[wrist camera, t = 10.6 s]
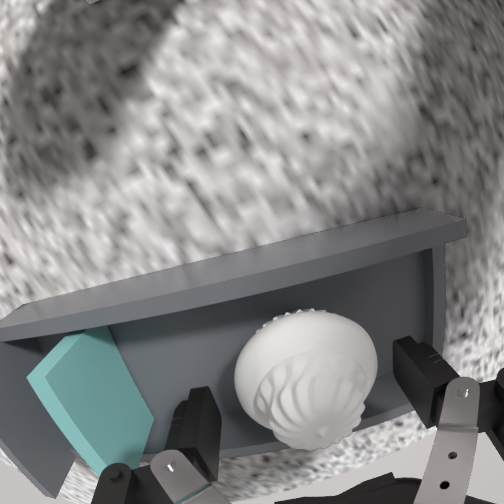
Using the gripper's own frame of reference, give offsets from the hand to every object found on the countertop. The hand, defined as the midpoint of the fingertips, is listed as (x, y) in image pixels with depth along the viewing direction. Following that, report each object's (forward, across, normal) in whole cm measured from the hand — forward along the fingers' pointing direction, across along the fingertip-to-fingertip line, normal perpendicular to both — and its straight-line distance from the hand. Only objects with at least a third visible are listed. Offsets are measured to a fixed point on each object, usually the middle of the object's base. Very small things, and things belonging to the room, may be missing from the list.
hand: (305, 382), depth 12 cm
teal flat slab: (+3, +10, 0) cm, 11 cm away
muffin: (+4, 0, 0) cm, 4 cm away
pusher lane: (+5, +4, 0) cm, 6 cm away
